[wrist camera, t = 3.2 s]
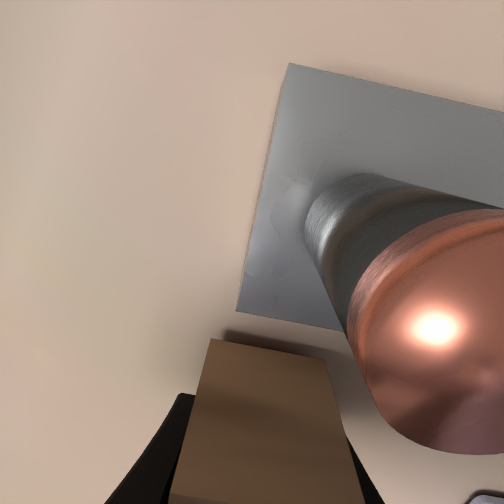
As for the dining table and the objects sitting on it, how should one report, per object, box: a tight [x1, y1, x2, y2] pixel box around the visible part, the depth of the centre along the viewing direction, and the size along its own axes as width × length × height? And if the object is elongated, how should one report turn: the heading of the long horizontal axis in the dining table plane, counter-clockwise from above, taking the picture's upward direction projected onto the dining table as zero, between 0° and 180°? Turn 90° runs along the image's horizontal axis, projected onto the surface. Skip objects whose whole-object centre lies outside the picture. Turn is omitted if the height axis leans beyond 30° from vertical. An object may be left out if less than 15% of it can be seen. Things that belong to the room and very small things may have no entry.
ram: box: [236, 63, 504, 455], centre depth 6 cm, size 6×9×7 cm, turn 79°
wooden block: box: [168, 339, 365, 504], centre depth 9 cm, size 4×4×6 cm
